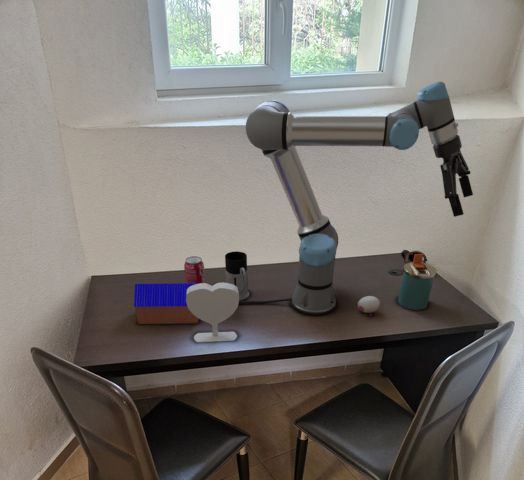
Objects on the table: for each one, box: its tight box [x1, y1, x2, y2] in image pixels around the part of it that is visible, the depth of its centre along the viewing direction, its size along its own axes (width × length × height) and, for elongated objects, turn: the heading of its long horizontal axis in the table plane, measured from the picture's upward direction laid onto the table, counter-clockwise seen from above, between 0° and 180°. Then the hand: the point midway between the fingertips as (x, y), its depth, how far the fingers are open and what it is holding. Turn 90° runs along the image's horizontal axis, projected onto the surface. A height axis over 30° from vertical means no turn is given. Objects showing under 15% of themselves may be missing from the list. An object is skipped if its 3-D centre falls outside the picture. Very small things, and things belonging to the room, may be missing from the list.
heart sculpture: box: [186, 282, 240, 343], centre depth 139 cm, size 16×5×18 cm, turn 94°
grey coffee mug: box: [224, 250, 250, 301], centre depth 160 cm, size 9×14×15 cm, turn 20°
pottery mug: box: [400, 249, 428, 264], centre depth 183 cm, size 12×10×8 cm
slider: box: [413, 254, 425, 268], centre depth 155 cm, size 4×3×3 cm
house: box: [133, 282, 200, 325], centre depth 152 cm, size 12×20×12 cm, turn 92°
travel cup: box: [397, 261, 437, 311], centre depth 158 cm, size 11×11×14 cm
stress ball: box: [357, 295, 381, 317], centre depth 156 cm, size 8×8×7 cm
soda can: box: [183, 255, 206, 284], centre depth 166 cm, size 7×7×12 cm
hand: (463, 205), depth 145 cm, fingers open, 13 cm apart
